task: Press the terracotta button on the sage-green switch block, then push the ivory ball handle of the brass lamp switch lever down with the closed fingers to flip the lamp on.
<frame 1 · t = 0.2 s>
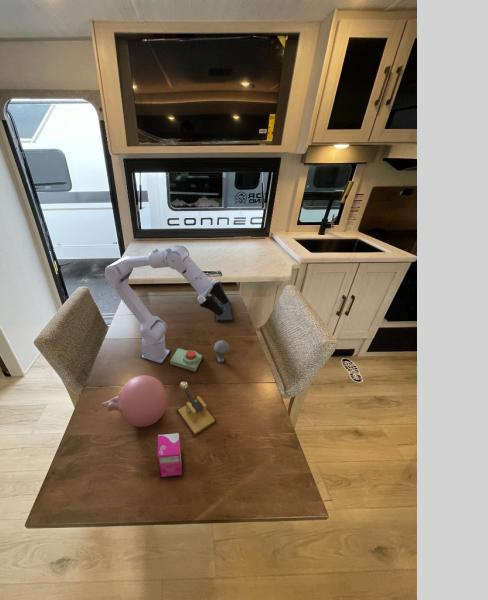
hand: (224, 308, 87), 31 cm above the table, tool tilted 45°, fingers open, 7 cm apart
light bulb: (220, 360, 110), on the table
button: (190, 355, 106), point 4 cm above the table, slide at 0.1 cm
button block: (186, 361, 109), on the table
supplement box: (171, 466, 75), on the table
switch bracket: (196, 416, 88), on the table
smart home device: (222, 311, 141), on the table
lever: (189, 396, 87), point 7 cm above the table, hinge at 22.0°
balloon: (138, 416, 88), on the table
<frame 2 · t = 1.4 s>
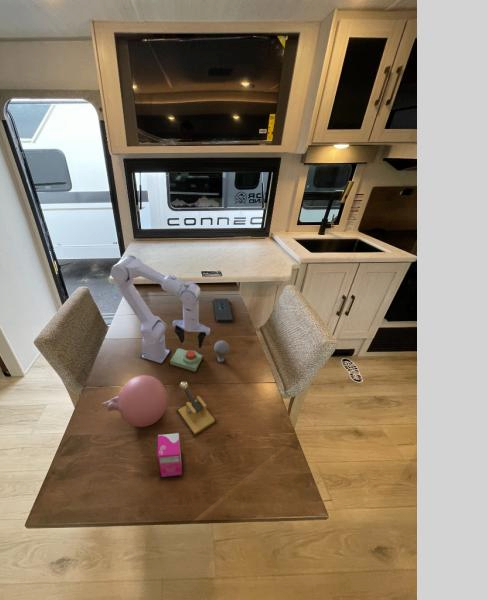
hand: (191, 343, 103), 10 cm above the table, tool pointing down, fingers open, 7 cm apart
nothing on the table moved.
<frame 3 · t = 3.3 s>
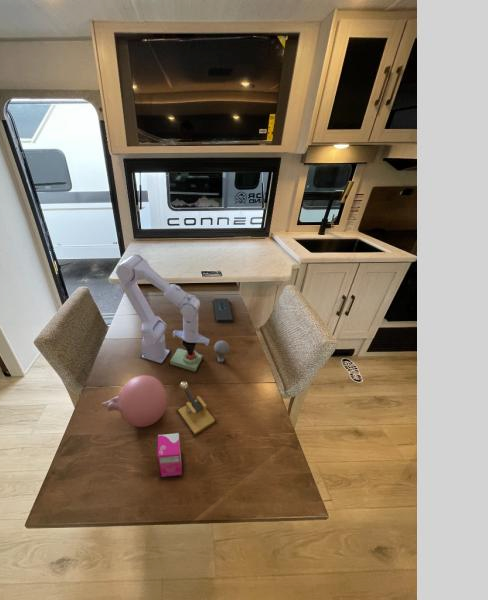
hand: (190, 353, 106), 5 cm above the table, tool pointing down, fingers closed, pressing on button
button: (190, 355, 106), point 4 cm above the table, slide at 0.1 cm, touching gripper
everything else where it was.
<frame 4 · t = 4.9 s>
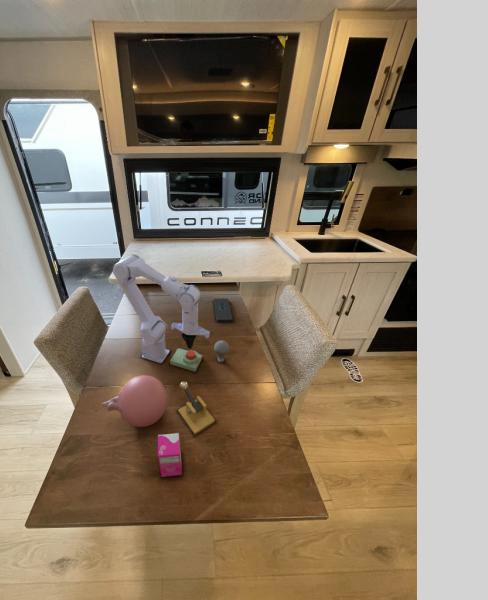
hand: (190, 346, 102), 10 cm above the table, tool pointing down, fingers closed
button: (190, 355, 106), point 4 cm above the table, slide at 0.1 cm
everything else where it was.
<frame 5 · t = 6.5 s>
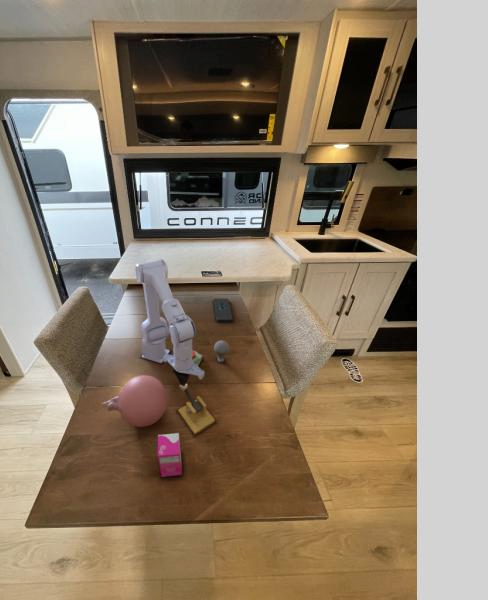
hand: (183, 383, 88), 9 cm above the table, tool pointing down, fingers closed, pressing on lever
lever: (189, 396, 87), point 6 cm above the table, hinge at 18.3°, touching gripper
everything else where it was.
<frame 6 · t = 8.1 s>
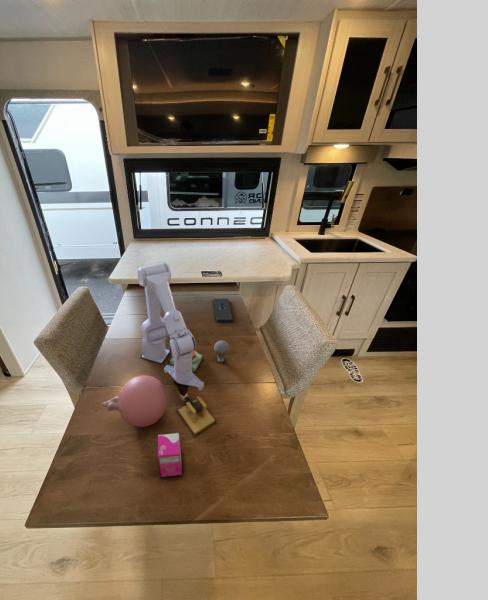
hand: (183, 393, 91), 4 cm above the table, tool pointing down, fingers closed, pressing on lever
lever: (189, 401, 89), point 4 cm above the table, hinge at -19.3°, touching gripper
everything else where it was.
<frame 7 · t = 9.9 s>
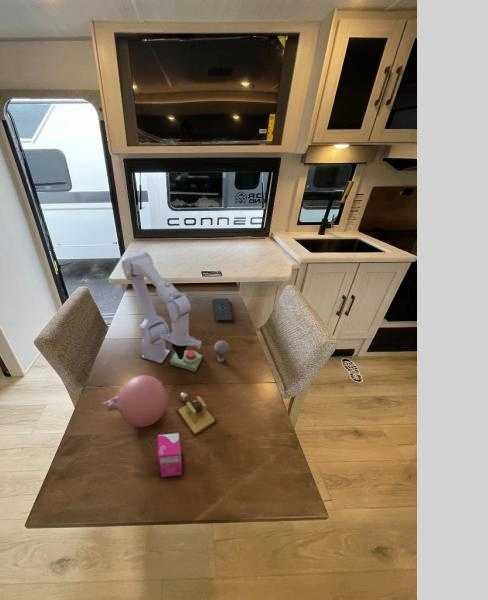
hand: (181, 357, 97), 10 cm above the table, tool pointing down, fingers closed
lever: (189, 401, 89), point 4 cm above the table, hinge at -19.3°
everything else where it was.
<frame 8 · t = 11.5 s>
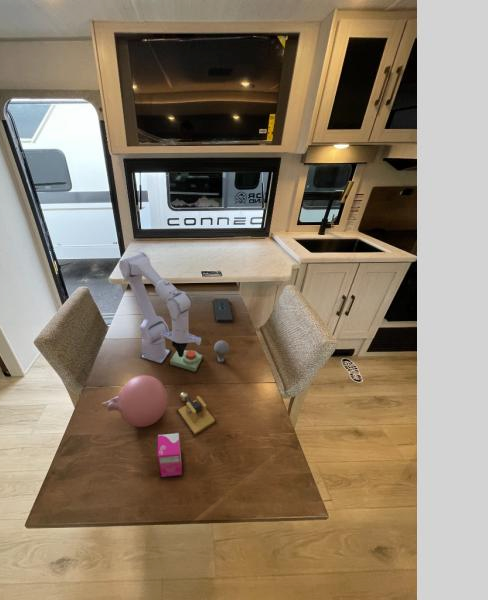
hand: (181, 355, 98), 10 cm above the table, tool pointing down, fingers closed
nothing on the table moved.
at the end: button pushed in 1.2 cm at the most during the clip, back to where it started at the end; button slide at 0.1 cm; lever at -19° (first picture: +22°) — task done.
